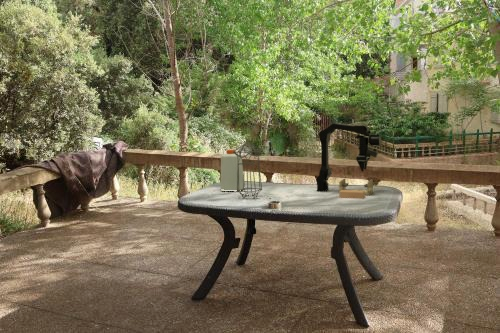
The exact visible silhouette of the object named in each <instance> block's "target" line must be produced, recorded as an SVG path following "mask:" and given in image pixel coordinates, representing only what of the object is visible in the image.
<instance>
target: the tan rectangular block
mask: <svg viewBox="0 0 500 333" xmlns="http://www.w3.org/2000/svg"><path fill="white" fill-rule="evenodd" d="M357 190H358V189H346V190H341V191H340V192H338V193H339V194H338V197H339V198H340V199H358V200H361V199H362V200H363V199H364V198H365V197H366V195H365V191H357Z"/></svg>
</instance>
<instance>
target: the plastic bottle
mask: <svg viewBox="0 0 500 333" xmlns="http://www.w3.org/2000/svg"><path fill="white" fill-rule="evenodd" d="M234 150H235V149H226V153H224V154H222V155H221V156H220V190H221V189H224V190H237V170H238V161H239V163H241V164H239V190H241V189H243V186H244V187H245V188H246V184H245V183H246V182H245V174H244V165H243V161H242V160H243V158H242V159H241V158H240V157H237V155H235V154H234V153H233V151H234ZM238 155H239V153H238ZM239 159H240V160H239ZM243 190H244V189H243Z"/></svg>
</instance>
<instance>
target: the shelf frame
mask: <svg viewBox="0 0 500 333" xmlns="http://www.w3.org/2000/svg"><path fill="white" fill-rule="evenodd" d="M373 179H374V178H373ZM373 179H372V178H371V179H370V180H368V181H367V183H365V184H364V186H363V187H364V188H367V189H356V190H357V191H365V196H370V195H371V196H372V194H373V193H374V180H373ZM338 183H339V184H338V191H339V192H340V191H341V190H347V189H346V187H348V186H349V183H347V182H346V178H342V179H341V180H339V182H338ZM339 192H338V193H339Z"/></svg>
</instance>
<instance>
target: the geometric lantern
mask: <svg viewBox="0 0 500 333" xmlns="http://www.w3.org/2000/svg"><path fill="white" fill-rule="evenodd" d="M247 146H248V148H249V149H248V150H247V149H246V148H247ZM233 150H234V151H233V153H234V154H235V155H237V157H240V158H241V159H242V164H243V169H246V168H245V167H246V166H245V165H246V164H247V166H248V165H249V166H252V169H251V167H249V170H248V169H246V186H247V187H245V188H244V186H243V189H241V190H242V191H240V190H239V164H241V163H239V161H238V170H237V192H236V193H239V194H240V195H241V198H242V197H244V196H245V195H247V194H248V195H249V193H251V195H252V196H251V198H252V197H253V198H254V196H257V195H258V196H259V194H260V192H261V191H263V186H262V179H261V170H260V169H261V168H260V154H261V153H262V152H263V149H262V148H260V147H258V146H256V145H255V144H253V143H251V142H249V141H246V142H245V143H243V145H240V146H239V147H237V148H235V149H233ZM238 153H239V155H238ZM242 153H243V156H242ZM245 154H246V155H245ZM248 155H249V158H247V156H248ZM252 156H253V157H254V158H253V159H252V161H249V160H250V158H251V157H252ZM257 157H258V160H257ZM243 158H245V160H246V162H245V161H244V160H243ZM239 160H240V159H239ZM254 160H255V161H254ZM254 165H257V169H258V185H259V186H258V187H259V188H258V187H256V180H255V170H254ZM248 171H249V173H248ZM251 171H252V172H251ZM248 174H249V177H248ZM252 174H253V175H252ZM252 176H253V184H254V185H252V184H250V187H249V179H250V183H252ZM252 186H254V188H253V187H252ZM246 190H247V191H246ZM249 190H250V191H249Z"/></svg>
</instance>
